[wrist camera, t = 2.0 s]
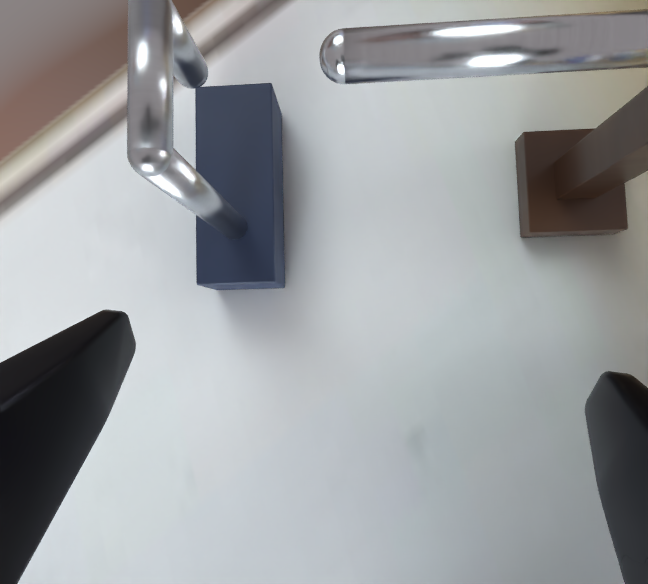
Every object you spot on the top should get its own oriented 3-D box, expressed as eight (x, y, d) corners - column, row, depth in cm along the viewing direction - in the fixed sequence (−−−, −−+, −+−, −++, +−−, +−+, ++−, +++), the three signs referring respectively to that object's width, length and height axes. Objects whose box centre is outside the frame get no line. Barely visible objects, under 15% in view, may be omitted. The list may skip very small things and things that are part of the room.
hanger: (285, 287, 23) (212, 246, 11) (215, 290, 23) (69, 251, 11) (281, 112, 24) (209, -108, 12) (214, 116, 24) (75, -97, 12)
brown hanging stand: (613, 234, 22) (975, 107, 9) (337, 244, 23) (319, 139, 10) (606, 137, 22) (945, -114, 10) (334, 150, 23) (313, -67, 10)
